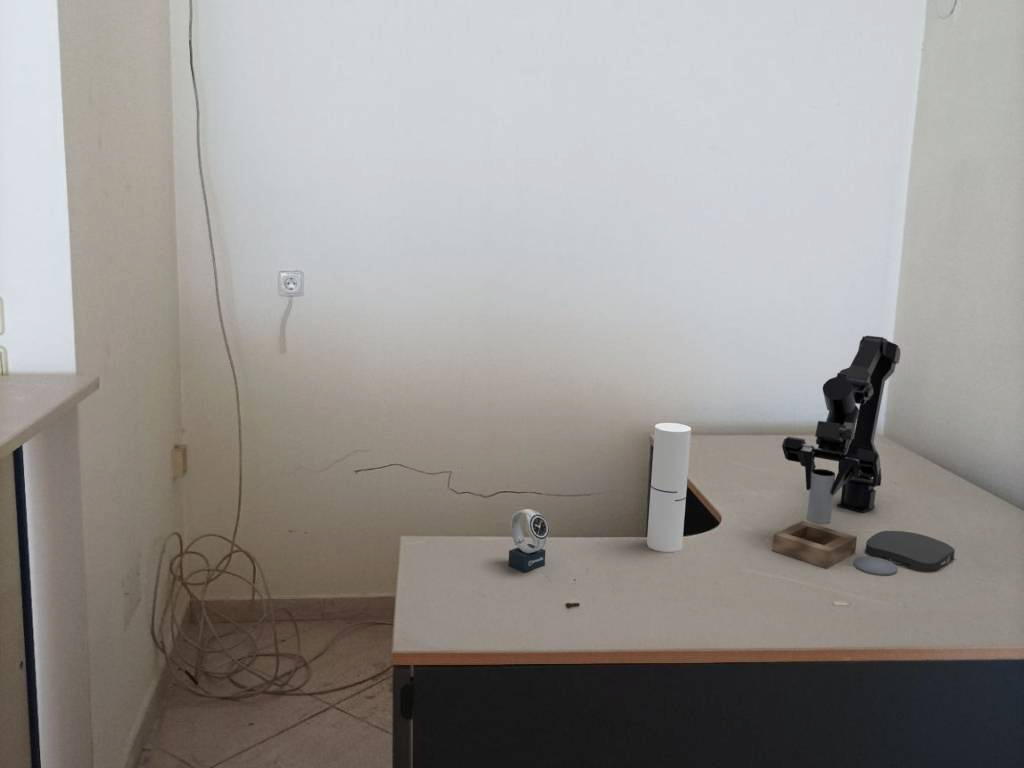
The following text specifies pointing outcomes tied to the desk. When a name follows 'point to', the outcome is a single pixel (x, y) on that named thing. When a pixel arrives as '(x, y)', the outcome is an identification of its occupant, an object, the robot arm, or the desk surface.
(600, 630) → the desk surface
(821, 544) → the planter holder
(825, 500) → the planter
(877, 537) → the media streaming box
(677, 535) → the cylindrical container
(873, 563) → the mat
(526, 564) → the watch
